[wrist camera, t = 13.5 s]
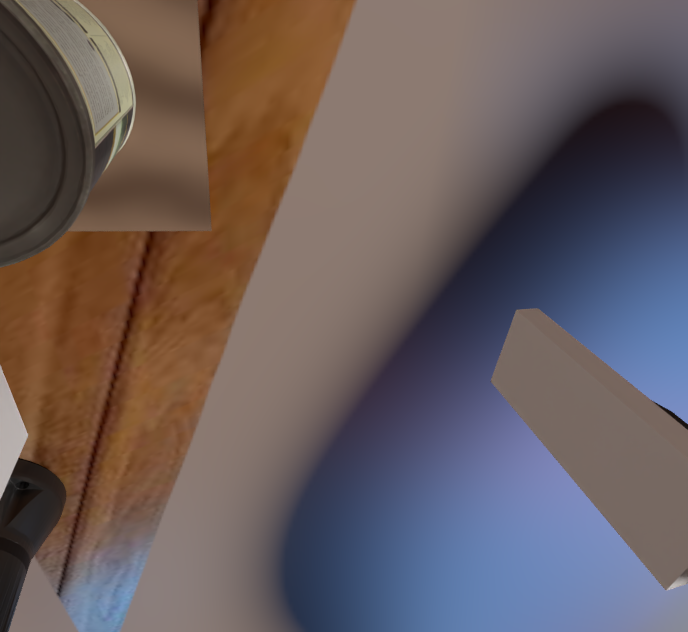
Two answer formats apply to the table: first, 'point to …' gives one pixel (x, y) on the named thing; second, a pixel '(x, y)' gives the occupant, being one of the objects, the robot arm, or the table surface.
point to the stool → (155, 123)
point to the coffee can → (55, 118)
